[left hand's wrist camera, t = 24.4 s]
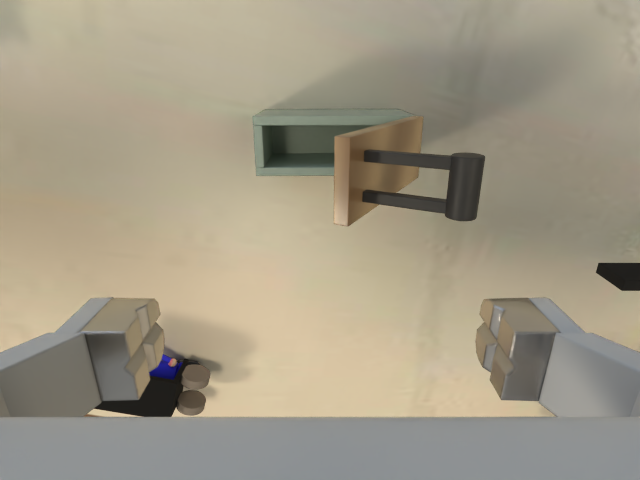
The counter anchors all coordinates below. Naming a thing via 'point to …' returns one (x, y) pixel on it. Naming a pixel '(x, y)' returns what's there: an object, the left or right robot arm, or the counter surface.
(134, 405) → the figurine character
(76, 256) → the counter surface
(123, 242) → the counter surface
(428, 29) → the counter surface
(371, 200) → the lid
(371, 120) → the chest
